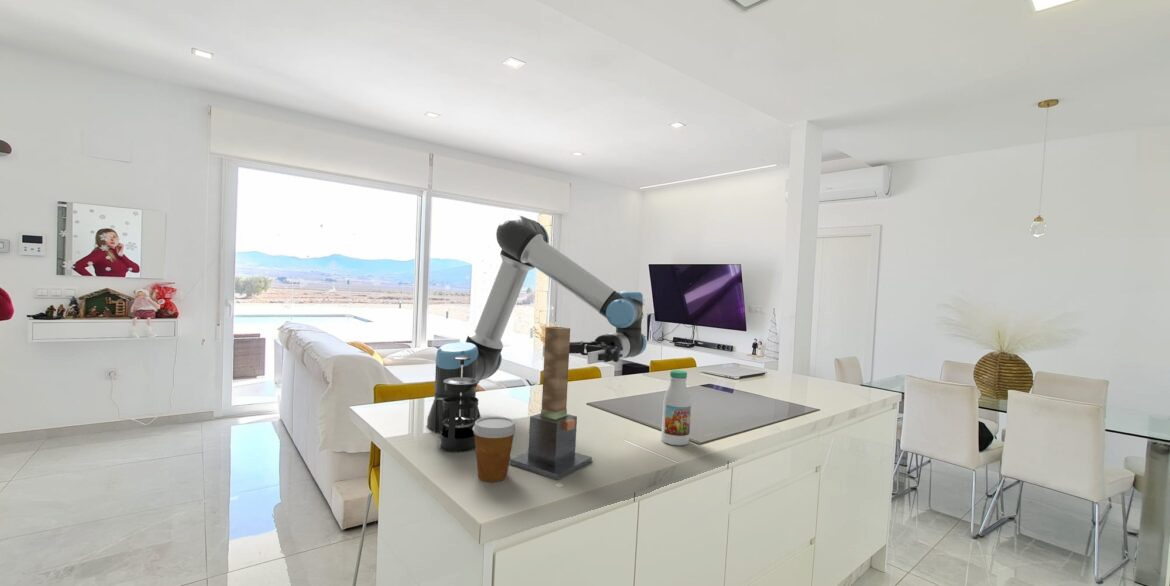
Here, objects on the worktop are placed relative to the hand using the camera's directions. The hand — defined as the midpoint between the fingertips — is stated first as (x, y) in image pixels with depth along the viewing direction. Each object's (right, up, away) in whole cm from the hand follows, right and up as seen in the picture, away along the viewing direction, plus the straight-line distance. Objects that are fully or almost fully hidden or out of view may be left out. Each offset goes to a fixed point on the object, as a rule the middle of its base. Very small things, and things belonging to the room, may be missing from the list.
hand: (565, 354), depth 119 cm
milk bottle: (+30, -27, +19) cm, 45 cm away
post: (-3, -17, -2) cm, 18 cm away
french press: (-28, -24, +7) cm, 38 cm away
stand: (-3, -26, -2) cm, 26 cm away
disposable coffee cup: (-16, -26, -11) cm, 32 cm away
